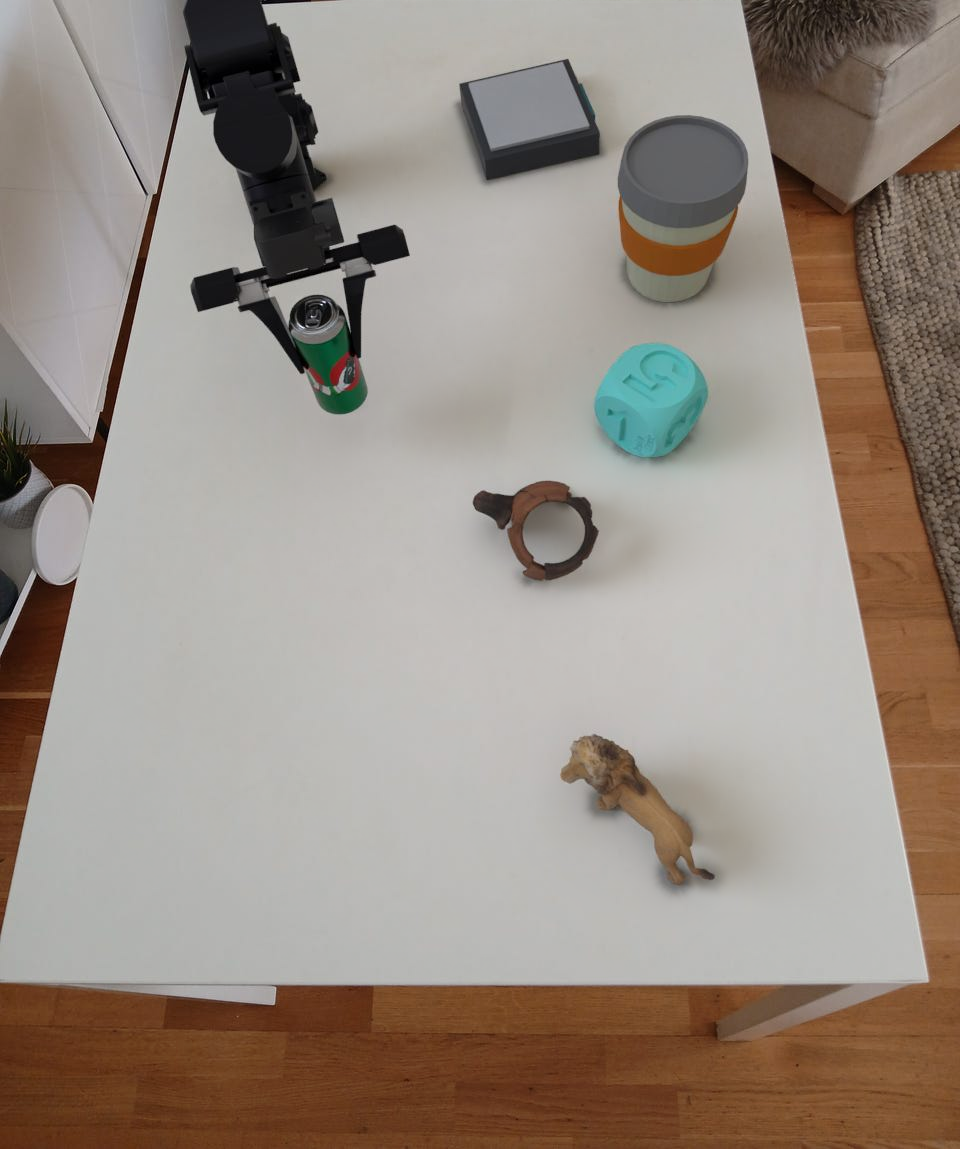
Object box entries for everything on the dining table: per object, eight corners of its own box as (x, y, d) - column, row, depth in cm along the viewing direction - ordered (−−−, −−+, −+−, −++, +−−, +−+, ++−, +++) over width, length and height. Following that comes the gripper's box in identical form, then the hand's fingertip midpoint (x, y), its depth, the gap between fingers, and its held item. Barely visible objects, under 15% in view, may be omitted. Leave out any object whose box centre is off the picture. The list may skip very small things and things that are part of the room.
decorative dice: (591, 428, 93) (594, 379, 86) (640, 379, 95) (647, 328, 88) (653, 471, 90) (661, 425, 83) (703, 419, 92) (715, 370, 85)
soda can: (371, 375, 90) (346, 290, 79) (366, 418, 88) (339, 337, 77) (321, 375, 90) (289, 291, 79) (314, 418, 88) (281, 337, 77)
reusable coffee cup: (748, 264, 101) (778, 149, 87) (678, 334, 97) (697, 226, 84) (658, 212, 105) (673, 95, 91) (588, 277, 102) (592, 166, 88)
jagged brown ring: (597, 495, 90) (614, 494, 82) (572, 587, 91) (587, 595, 83) (480, 463, 89) (486, 459, 81) (455, 556, 90) (459, 562, 82)
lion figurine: (551, 788, 78) (550, 763, 70) (589, 740, 79) (592, 710, 71) (695, 904, 73) (712, 892, 65) (732, 851, 74) (753, 833, 66)
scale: (486, 180, 109) (484, 156, 106) (461, 104, 115) (458, 79, 112) (604, 153, 110) (605, 128, 107) (572, 79, 116) (573, 53, 113)
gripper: (148, 206, 69) (218, 405, 74) (385, 144, 70) (437, 346, 75) (175, 214, 80) (234, 388, 85) (381, 160, 80) (427, 336, 86)
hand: (330, 365), depth 82 cm, fingers closed on soda can, 5 cm apart
